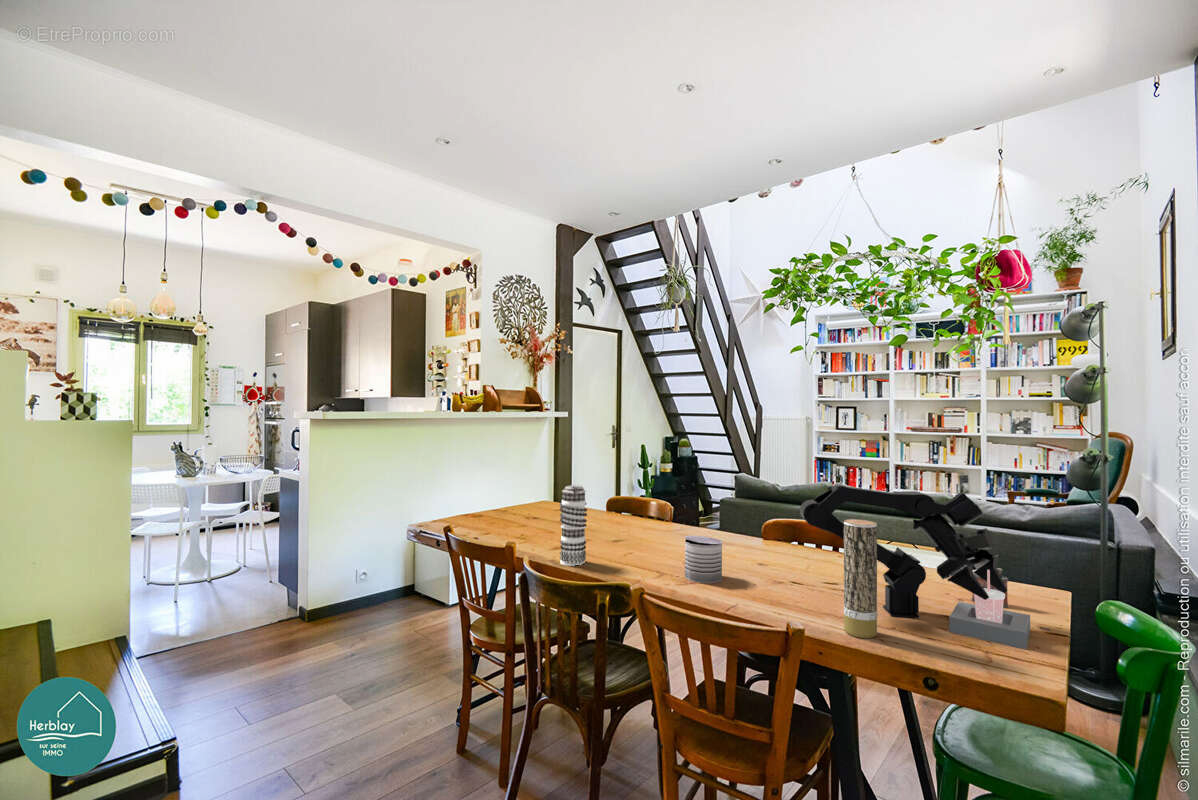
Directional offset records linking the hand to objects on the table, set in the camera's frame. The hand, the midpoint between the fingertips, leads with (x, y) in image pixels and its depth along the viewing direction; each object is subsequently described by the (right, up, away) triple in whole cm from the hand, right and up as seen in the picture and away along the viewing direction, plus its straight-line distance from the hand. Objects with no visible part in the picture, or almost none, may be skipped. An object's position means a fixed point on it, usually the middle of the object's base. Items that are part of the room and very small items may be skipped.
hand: (996, 595), depth 127 cm
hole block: (-1, -9, +1) cm, 9 cm away
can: (-59, -9, +41) cm, 72 cm away
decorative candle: (-99, -9, +57) cm, 115 cm away
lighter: (+12, -9, +20) cm, 25 cm away
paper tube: (-32, -8, -1) cm, 33 cm away
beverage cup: (-1, -9, +1) cm, 9 cm away
